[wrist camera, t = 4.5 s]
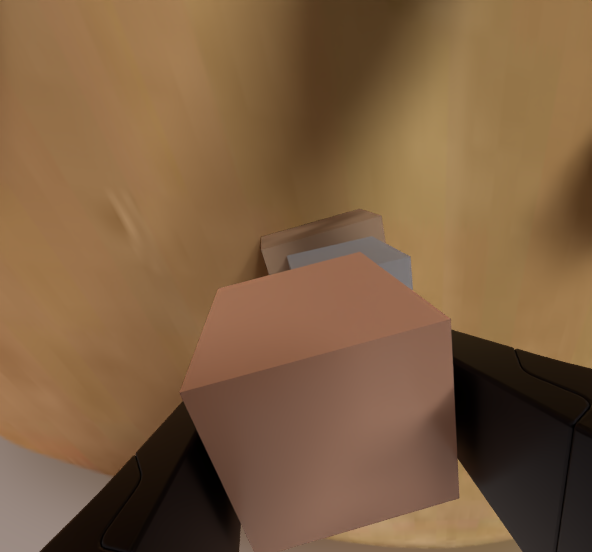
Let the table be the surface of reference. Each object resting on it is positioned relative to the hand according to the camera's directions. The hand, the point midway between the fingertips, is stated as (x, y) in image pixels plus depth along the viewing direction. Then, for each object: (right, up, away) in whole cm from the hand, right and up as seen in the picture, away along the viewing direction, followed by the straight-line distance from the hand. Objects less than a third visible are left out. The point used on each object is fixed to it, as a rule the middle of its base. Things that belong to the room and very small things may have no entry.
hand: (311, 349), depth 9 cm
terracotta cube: (0, 0, +1) cm, 1 cm away
